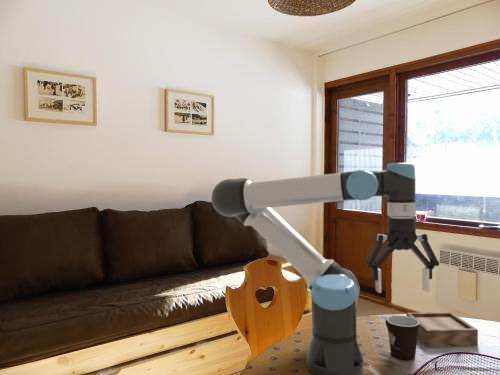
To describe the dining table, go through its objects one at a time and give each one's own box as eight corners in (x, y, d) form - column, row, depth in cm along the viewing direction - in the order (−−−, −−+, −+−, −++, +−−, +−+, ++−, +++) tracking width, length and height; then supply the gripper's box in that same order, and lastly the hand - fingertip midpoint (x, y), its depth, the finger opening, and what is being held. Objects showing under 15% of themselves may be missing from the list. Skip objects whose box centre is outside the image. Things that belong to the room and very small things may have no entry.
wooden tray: (427, 347, 114) (427, 330, 114) (406, 327, 129) (406, 312, 129) (477, 346, 114) (477, 329, 114) (451, 326, 129) (451, 312, 129)
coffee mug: (422, 364, 104) (422, 327, 103) (389, 361, 105) (389, 325, 105) (413, 345, 115) (413, 312, 115) (383, 343, 117) (383, 311, 116)
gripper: (361, 219, 105) (362, 295, 106) (451, 217, 105) (452, 293, 106) (354, 216, 113) (355, 288, 113) (438, 214, 113) (439, 286, 113)
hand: (402, 291), depth 110 cm, fingers open, 13 cm apart
